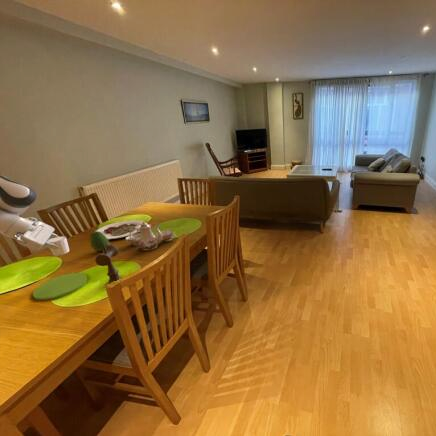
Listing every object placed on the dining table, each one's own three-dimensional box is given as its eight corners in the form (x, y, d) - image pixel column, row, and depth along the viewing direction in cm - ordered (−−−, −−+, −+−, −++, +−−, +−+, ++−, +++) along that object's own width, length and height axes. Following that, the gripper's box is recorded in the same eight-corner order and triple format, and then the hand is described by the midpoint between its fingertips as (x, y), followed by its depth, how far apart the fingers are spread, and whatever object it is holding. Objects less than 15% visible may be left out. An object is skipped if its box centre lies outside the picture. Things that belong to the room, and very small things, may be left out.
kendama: (126, 274, 116) (114, 237, 108) (119, 286, 107) (106, 246, 100) (112, 276, 114) (99, 238, 107) (103, 288, 106) (89, 249, 98)
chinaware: (177, 237, 156) (172, 213, 151) (176, 246, 141) (170, 219, 136) (127, 245, 146) (120, 219, 141) (120, 256, 131) (112, 227, 126)
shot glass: (74, 250, 114) (69, 237, 111) (56, 257, 108) (50, 243, 105) (66, 247, 116) (61, 234, 114) (48, 254, 110) (42, 240, 108)
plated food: (147, 234, 157) (146, 229, 155) (90, 245, 143) (88, 240, 142) (147, 219, 181) (146, 215, 180) (98, 228, 167) (96, 223, 166)
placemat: (35, 306, 96) (34, 304, 95) (31, 287, 107) (30, 286, 106) (91, 284, 108) (90, 283, 108) (82, 270, 119) (81, 268, 119)
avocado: (97, 248, 140) (90, 229, 135) (112, 246, 142) (107, 228, 137) (91, 255, 133) (84, 235, 128) (108, 252, 135) (101, 233, 130)
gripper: (17, 232, 94) (59, 247, 103) (34, 216, 110) (69, 230, 119) (6, 244, 94) (49, 259, 102) (24, 227, 110) (60, 240, 118)
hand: (59, 243), depth 111 cm, fingers closed on shot glass, 7 cm apart
